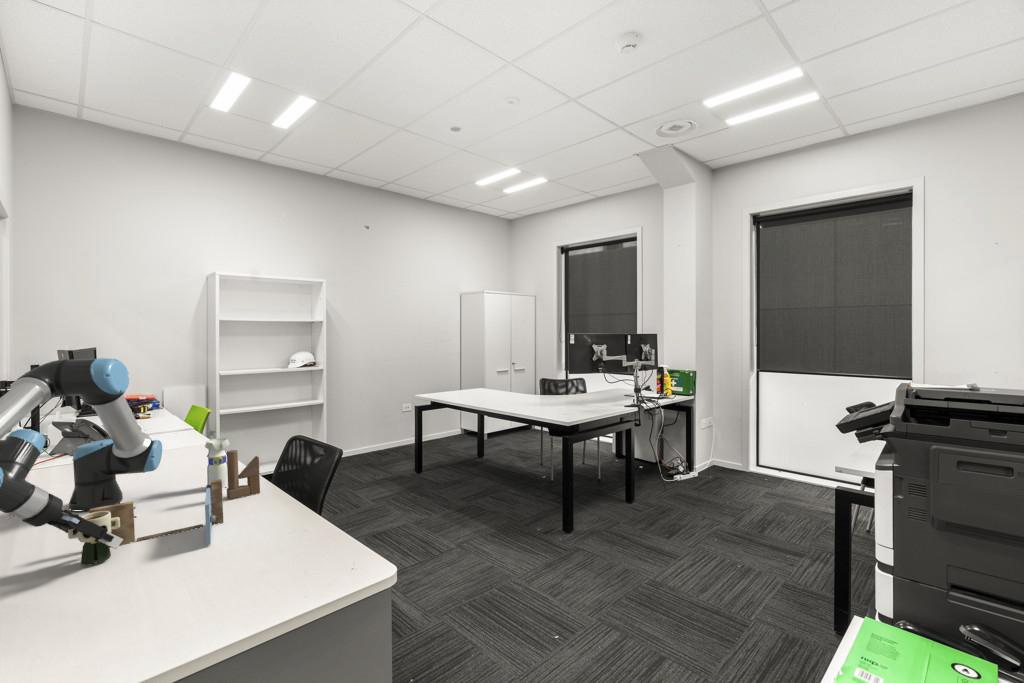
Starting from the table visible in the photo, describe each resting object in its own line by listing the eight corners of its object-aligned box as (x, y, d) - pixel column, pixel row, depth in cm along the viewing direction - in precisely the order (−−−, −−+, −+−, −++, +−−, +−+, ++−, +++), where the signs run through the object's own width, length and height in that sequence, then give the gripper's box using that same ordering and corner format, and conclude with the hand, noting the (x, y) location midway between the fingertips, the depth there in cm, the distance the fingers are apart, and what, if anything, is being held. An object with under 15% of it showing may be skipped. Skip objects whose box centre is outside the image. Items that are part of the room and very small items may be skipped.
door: (208, 524, 157) (206, 488, 157) (216, 523, 158) (215, 487, 158) (206, 545, 142) (204, 505, 142) (216, 543, 143) (214, 503, 143)
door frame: (91, 551, 140) (88, 504, 140) (92, 548, 142) (89, 501, 142) (223, 522, 160) (221, 480, 159) (222, 520, 162) (221, 479, 161)
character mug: (69, 573, 128) (66, 524, 127) (70, 563, 133) (68, 517, 133) (121, 559, 135) (119, 514, 134) (121, 551, 140) (119, 507, 140)
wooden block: (260, 493, 188) (258, 447, 188) (229, 500, 181) (227, 452, 180) (257, 490, 191) (255, 445, 190) (226, 497, 184) (224, 451, 183)
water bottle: (232, 488, 195) (229, 426, 194) (207, 492, 190) (204, 429, 189) (230, 482, 202) (228, 423, 201) (206, 486, 197) (203, 426, 196)
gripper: (-3, 516, 122) (76, 550, 138) (47, 525, 116) (124, 560, 132) (23, 488, 127) (96, 525, 143) (72, 496, 121) (143, 533, 136)
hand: (109, 542), depth 137 cm, fingers closed on character mug, 7 cm apart
